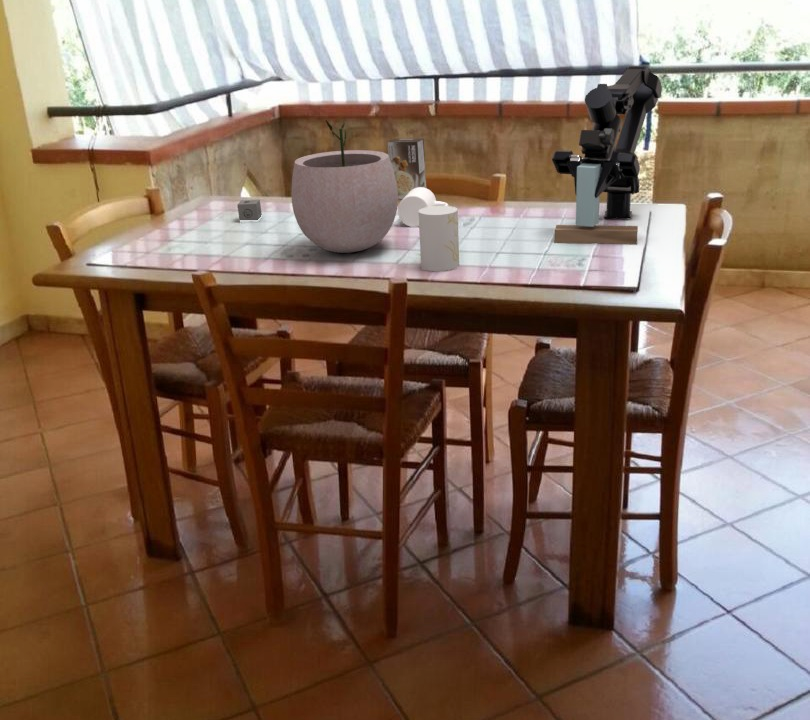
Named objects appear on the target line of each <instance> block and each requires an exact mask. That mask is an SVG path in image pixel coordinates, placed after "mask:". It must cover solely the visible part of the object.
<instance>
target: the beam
mask: <svg viewBox="0 0 810 720" xmlns="http://www.w3.org/2000/svg"><path fill="white" fill-rule="evenodd" d="M638 227H639V226H638V225H608V224H607V225H605V224H604V225H603V224H602V225H600V224H599V225H597V224H596V225H595V226H593V227H591V226H578V225H576V224H556V225H555V228H554V235H553V236H554V239H553V240H554V241H553V242H554V244H592V243H612V244H611V245H637V243H638ZM613 243H614V244H613Z"/></svg>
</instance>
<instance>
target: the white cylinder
mask: <svg viewBox="0 0 810 720" xmlns="http://www.w3.org/2000/svg"><path fill="white" fill-rule="evenodd" d="M418 212H419V227H418V228H419V229H418V230H419V231H418V232H419V247H420V248H419V252H420V254H419V255H420V268H421V269H422V270H424V271H426V270H429V271H428V272H432V271H443V272H447V271H446V270H450V271H452V270H451V269H454V270H456V269H458V268H460V245H459V244H460V243H459V242H460V241H459V238H460V237H459V213H458V212H459V211H458V208H457V207H455V206H452V205H449V206H430V207H425V208H422V209H420V210H419V211H418ZM457 267H458V268H457ZM455 268H456V269H455Z"/></svg>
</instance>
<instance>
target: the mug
mask: <svg viewBox="0 0 810 720" xmlns="http://www.w3.org/2000/svg"><path fill="white" fill-rule="evenodd" d="M430 206H450V205H449V203H447V202H444V201H440V200H439V201H438V200H437V199H436V197H435V194H434V192H432V190H430V189H428V188H427V187H426V188H424V187H417V188H414V189H413V190H411V191H410V192H409V193H408V194H407V195H406V196H405V197H404V199H401V200H400V202H399V203H398V206H397V213H398V216H399V217H398V218H399V219H400V221H401V222H402V223H403V224H404V225H405V226H408V227H410V228H419V212H418V211H419V210H420V209H422V208H425V207H430Z"/></svg>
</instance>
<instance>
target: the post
mask: <svg viewBox="0 0 810 720" xmlns="http://www.w3.org/2000/svg"><path fill="white" fill-rule="evenodd" d="M600 172H601V164H584V163H583V164H581V165H580V166H578V167H577V191H576V195H575V197H576V198H575V225H578V226H591V227H593V226H595V225H597V224H599V223H600V203H601V202H600V197H601V194H600V195H599V196H598V197H597V198H595V190H596V187H597V184H598V181H599V179H600Z"/></svg>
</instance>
